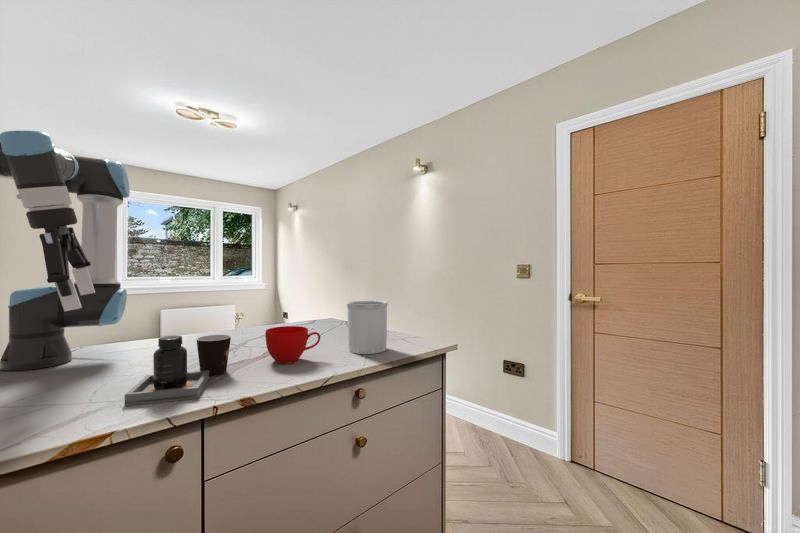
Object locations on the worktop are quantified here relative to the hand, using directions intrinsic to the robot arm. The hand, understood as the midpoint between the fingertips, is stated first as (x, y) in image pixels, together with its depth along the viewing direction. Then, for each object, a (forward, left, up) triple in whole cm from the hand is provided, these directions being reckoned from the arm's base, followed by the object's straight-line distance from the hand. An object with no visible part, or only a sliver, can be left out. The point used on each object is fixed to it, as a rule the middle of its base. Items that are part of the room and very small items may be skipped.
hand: (81, 301), depth 81 cm
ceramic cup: (-18, +48, -22) cm, 55 cm away
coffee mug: (-12, +27, -22) cm, 37 cm away
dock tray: (+2, +19, -22) cm, 29 cm away
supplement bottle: (+2, +18, -21) cm, 28 cm away
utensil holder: (-25, +74, -22) cm, 81 cm away
